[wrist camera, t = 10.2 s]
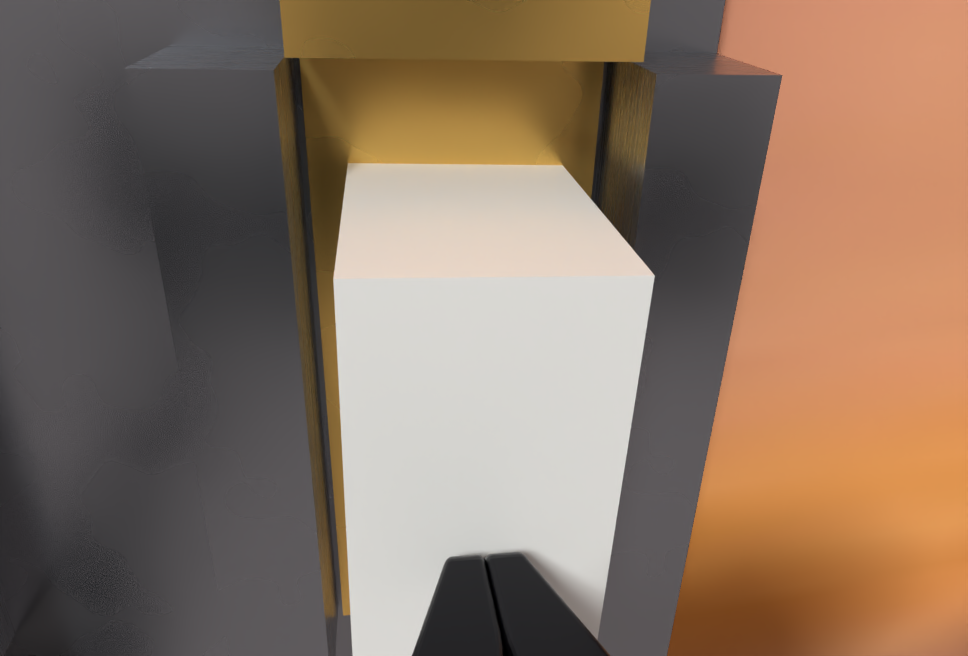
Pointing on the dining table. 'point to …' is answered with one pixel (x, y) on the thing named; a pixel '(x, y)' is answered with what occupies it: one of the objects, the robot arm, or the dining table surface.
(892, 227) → the dining table surface
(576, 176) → the rack
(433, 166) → the white rectangular prism
